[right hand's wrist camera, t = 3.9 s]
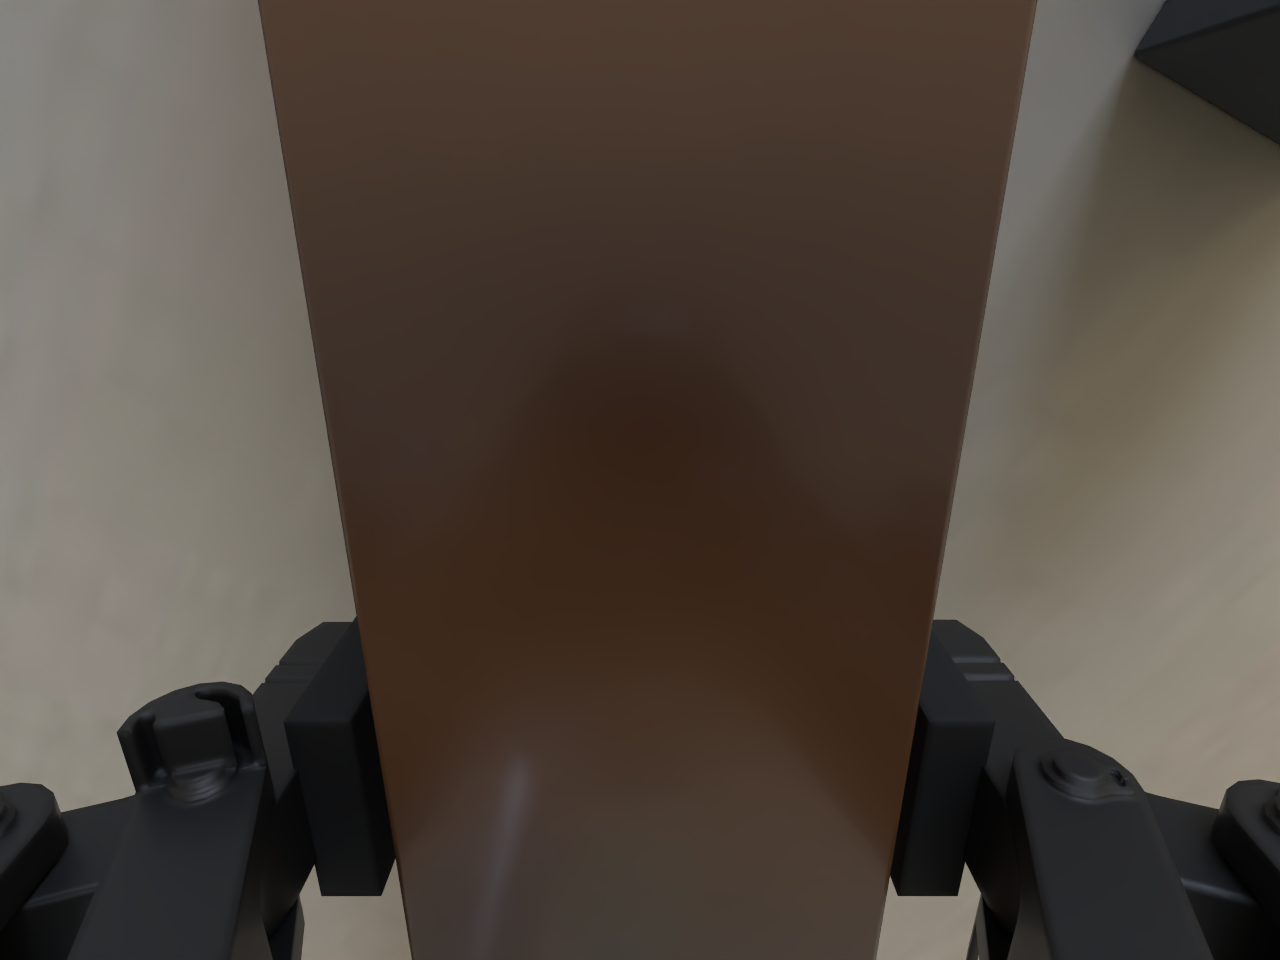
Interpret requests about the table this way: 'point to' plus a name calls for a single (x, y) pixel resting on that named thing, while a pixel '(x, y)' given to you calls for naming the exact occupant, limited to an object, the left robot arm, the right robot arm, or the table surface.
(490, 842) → the walnut bar
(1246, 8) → the grey block
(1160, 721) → the table surface
